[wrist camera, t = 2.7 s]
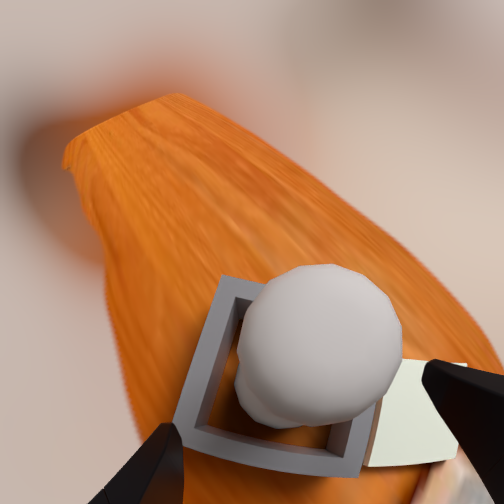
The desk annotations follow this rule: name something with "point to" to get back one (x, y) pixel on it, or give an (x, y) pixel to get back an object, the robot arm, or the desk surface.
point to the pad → (408, 423)
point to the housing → (244, 447)
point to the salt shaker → (316, 348)
